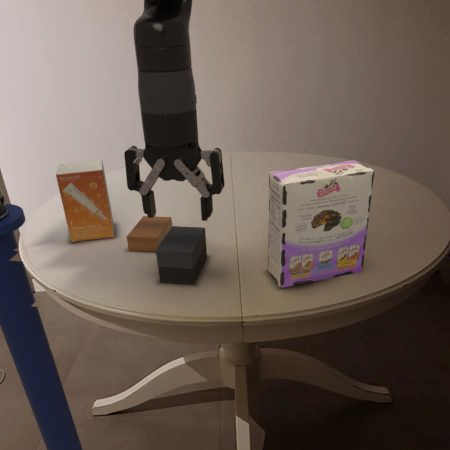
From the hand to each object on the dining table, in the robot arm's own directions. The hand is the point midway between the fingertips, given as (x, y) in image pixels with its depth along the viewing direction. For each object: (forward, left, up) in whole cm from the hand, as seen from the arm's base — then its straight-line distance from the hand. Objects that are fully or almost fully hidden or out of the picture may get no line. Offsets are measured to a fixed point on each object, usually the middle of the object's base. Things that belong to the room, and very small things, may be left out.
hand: (178, 217), depth 72 cm
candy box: (+21, +1, -9) cm, 23 cm away
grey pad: (0, 0, -6) cm, 6 cm away
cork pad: (-9, +10, -9) cm, 16 cm away
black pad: (0, 0, -9) cm, 9 cm away
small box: (-21, +11, -9) cm, 26 cm away
